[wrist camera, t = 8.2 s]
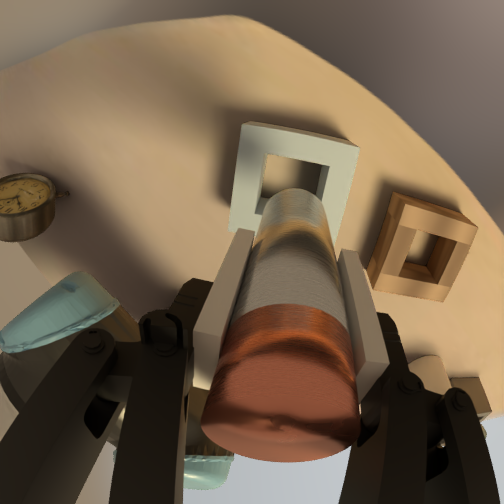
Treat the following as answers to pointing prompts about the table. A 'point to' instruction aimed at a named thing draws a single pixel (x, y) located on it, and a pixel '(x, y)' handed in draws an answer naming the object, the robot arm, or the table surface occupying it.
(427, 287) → the mount
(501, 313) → the table surface
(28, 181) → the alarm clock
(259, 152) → the frame
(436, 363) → the cream cylinder
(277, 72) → the table surface
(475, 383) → the box
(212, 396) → the pin
